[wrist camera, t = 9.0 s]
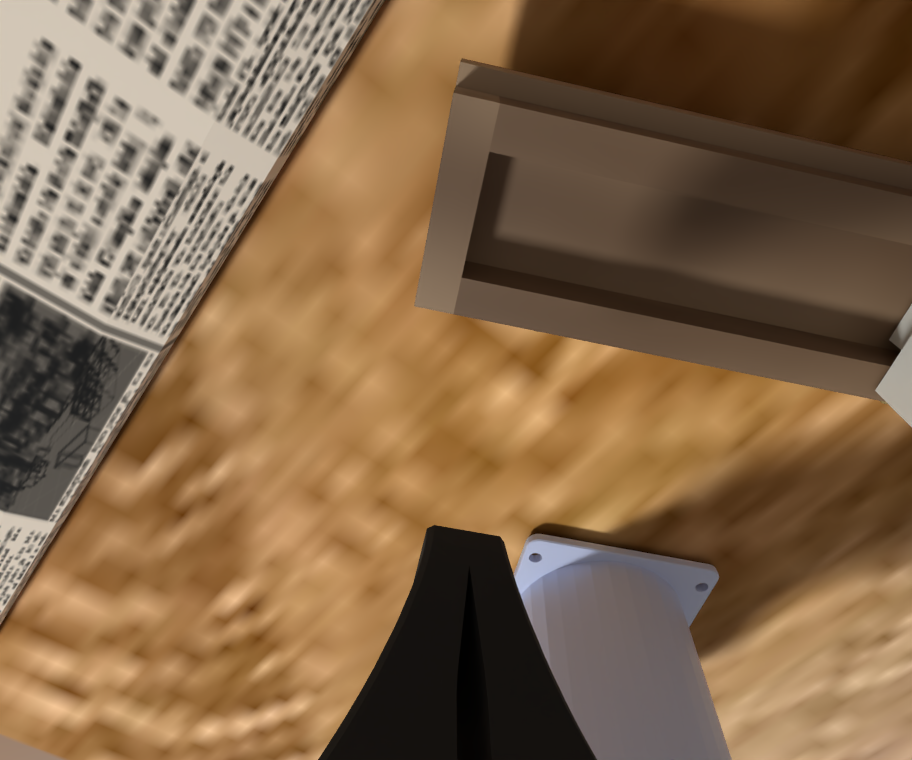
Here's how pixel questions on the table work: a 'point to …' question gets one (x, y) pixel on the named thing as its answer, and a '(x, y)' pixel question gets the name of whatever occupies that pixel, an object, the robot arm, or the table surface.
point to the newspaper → (128, 208)
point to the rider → (900, 371)
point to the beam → (668, 232)
